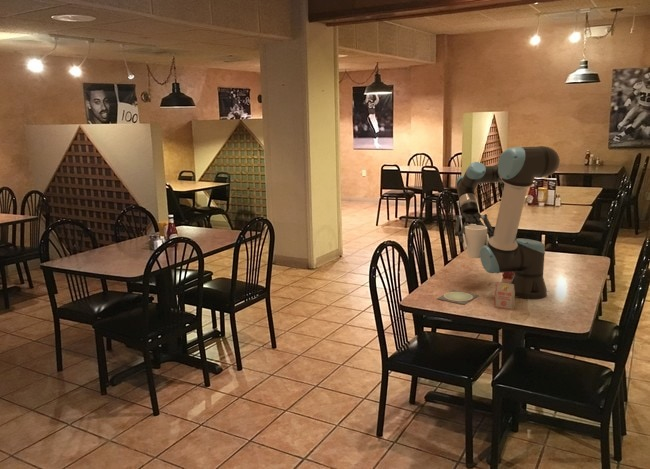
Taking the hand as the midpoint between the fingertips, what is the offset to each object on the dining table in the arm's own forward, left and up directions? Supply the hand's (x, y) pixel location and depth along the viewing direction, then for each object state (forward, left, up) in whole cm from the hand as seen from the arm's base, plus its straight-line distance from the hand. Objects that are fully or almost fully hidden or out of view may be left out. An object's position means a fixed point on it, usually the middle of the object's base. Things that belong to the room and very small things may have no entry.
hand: (477, 248), depth 244 cm
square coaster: (+1, +14, -19) cm, 23 cm away
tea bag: (-19, +14, -19) cm, 30 cm away
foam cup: (+2, -2, -5) cm, 6 cm away
